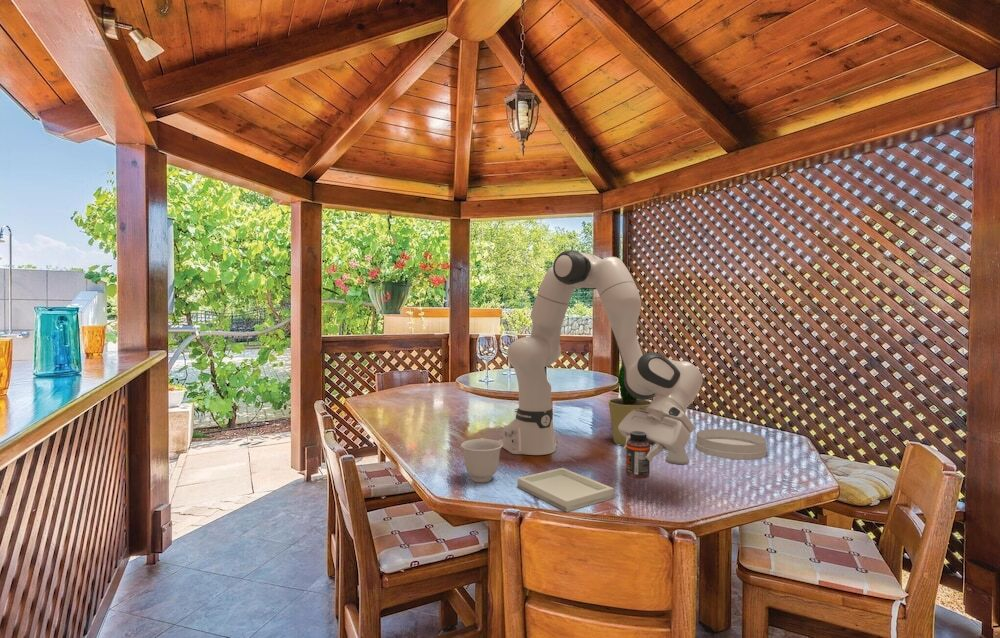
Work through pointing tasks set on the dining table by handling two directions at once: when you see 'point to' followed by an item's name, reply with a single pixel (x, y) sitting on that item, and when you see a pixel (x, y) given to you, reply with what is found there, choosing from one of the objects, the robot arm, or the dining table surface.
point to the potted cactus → (623, 408)
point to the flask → (677, 457)
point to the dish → (731, 444)
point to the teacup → (481, 458)
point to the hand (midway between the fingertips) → (636, 455)
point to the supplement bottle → (637, 455)
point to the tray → (565, 489)
